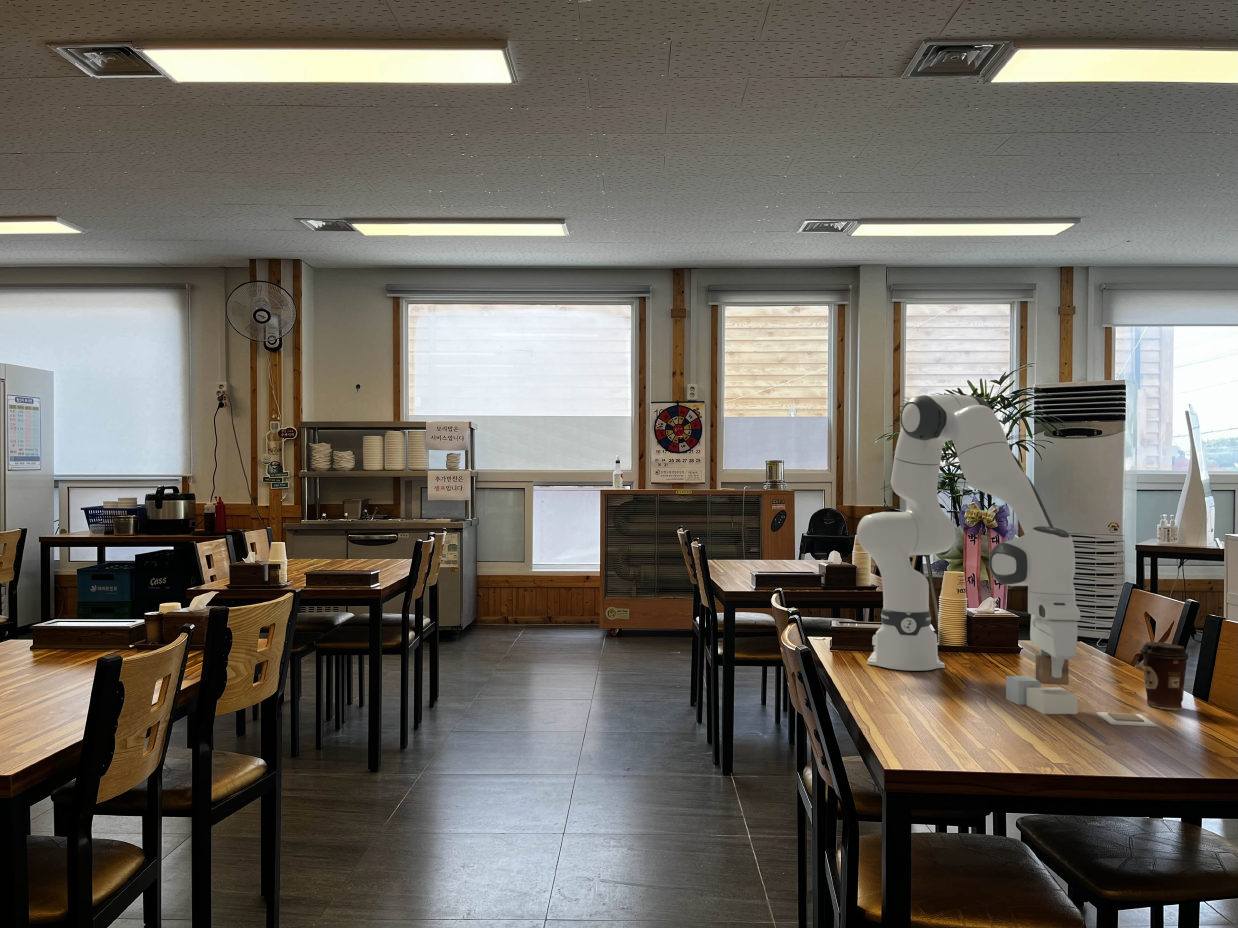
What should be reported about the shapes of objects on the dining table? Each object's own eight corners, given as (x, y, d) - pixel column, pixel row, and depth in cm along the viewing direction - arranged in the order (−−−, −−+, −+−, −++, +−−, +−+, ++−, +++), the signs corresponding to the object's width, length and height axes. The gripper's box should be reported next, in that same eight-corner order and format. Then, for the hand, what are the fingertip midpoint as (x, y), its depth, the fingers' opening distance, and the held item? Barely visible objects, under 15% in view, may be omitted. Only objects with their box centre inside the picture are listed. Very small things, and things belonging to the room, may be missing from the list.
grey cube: (1006, 699, 195) (1006, 675, 195) (1028, 699, 196) (1028, 675, 196) (1018, 704, 190) (1018, 680, 190) (1041, 704, 191) (1040, 680, 191)
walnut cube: (1035, 678, 189) (1035, 654, 189) (1061, 679, 188) (1061, 655, 188) (1042, 683, 184) (1042, 658, 184) (1068, 684, 183) (1068, 660, 183)
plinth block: (1026, 706, 190) (1026, 687, 190) (1059, 706, 190) (1059, 687, 190) (1043, 714, 183) (1043, 694, 183) (1077, 714, 183) (1077, 694, 183)
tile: (1096, 713, 183) (1096, 710, 183) (1140, 716, 181) (1140, 712, 181) (1110, 723, 175) (1110, 720, 175) (1155, 726, 173) (1155, 722, 173)
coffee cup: (1144, 709, 187) (1143, 645, 187) (1136, 700, 195) (1136, 639, 195) (1193, 713, 184) (1192, 649, 184) (1183, 704, 192) (1182, 642, 192)
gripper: (1022, 599, 197) (1022, 663, 197) (1048, 611, 177) (1048, 683, 177) (1053, 600, 196) (1053, 664, 196) (1083, 613, 176) (1083, 684, 176)
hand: (1051, 673), depth 186 cm, fingers closed on walnut cube, 5 cm apart
